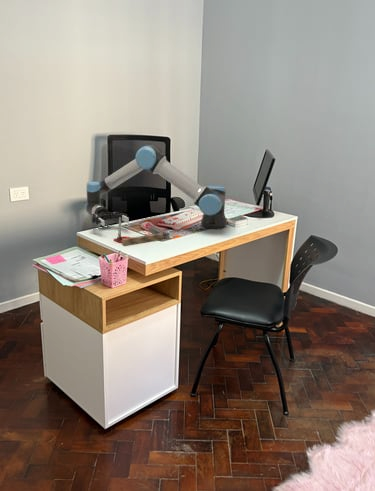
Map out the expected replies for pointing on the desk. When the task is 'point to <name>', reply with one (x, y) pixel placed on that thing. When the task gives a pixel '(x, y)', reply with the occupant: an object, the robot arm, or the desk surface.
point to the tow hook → (119, 238)
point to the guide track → (147, 236)
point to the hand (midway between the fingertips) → (116, 222)
